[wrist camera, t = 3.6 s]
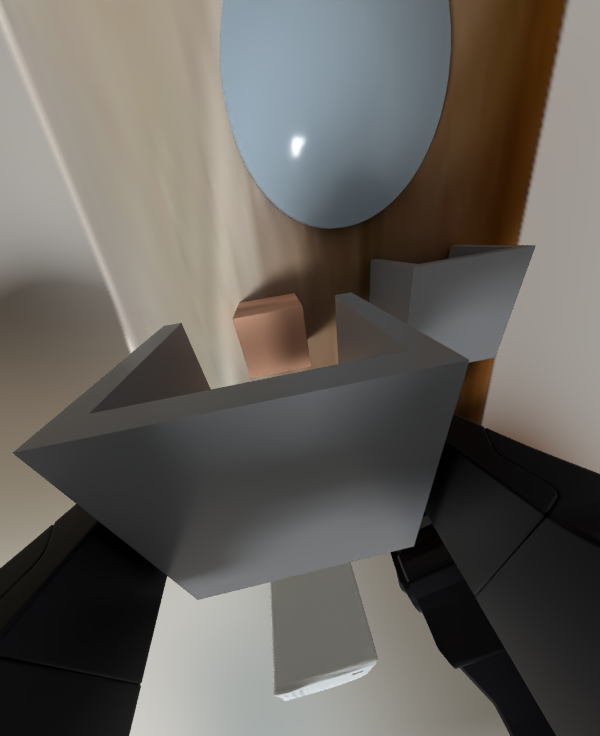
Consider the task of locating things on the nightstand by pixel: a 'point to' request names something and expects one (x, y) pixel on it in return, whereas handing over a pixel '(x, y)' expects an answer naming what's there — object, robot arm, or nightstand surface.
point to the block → (272, 334)
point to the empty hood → (455, 295)
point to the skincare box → (318, 632)
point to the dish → (334, 99)
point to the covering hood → (259, 454)
